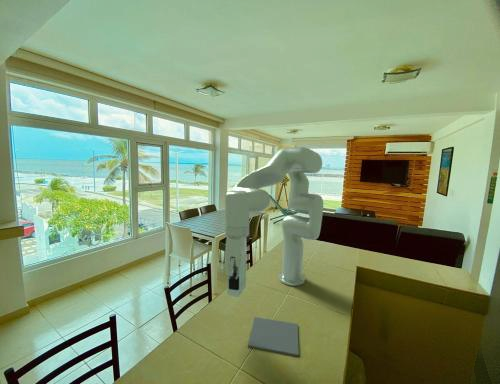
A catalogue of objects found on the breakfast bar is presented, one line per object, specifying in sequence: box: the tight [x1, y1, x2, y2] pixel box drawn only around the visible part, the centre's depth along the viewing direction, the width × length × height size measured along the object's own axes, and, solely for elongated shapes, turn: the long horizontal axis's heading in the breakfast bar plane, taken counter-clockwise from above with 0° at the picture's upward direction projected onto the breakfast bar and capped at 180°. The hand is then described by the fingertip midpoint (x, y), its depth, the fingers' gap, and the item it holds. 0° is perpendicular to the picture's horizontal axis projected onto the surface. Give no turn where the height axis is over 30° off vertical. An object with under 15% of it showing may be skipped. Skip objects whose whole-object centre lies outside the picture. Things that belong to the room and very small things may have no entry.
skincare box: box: [226, 253, 247, 298], centre depth 68 cm, size 6×4×12 cm
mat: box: [247, 316, 300, 357], centre depth 68 cm, size 12×15×1 cm
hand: (236, 282), depth 68 cm, fingers closed on skincare box, 6 cm apart
